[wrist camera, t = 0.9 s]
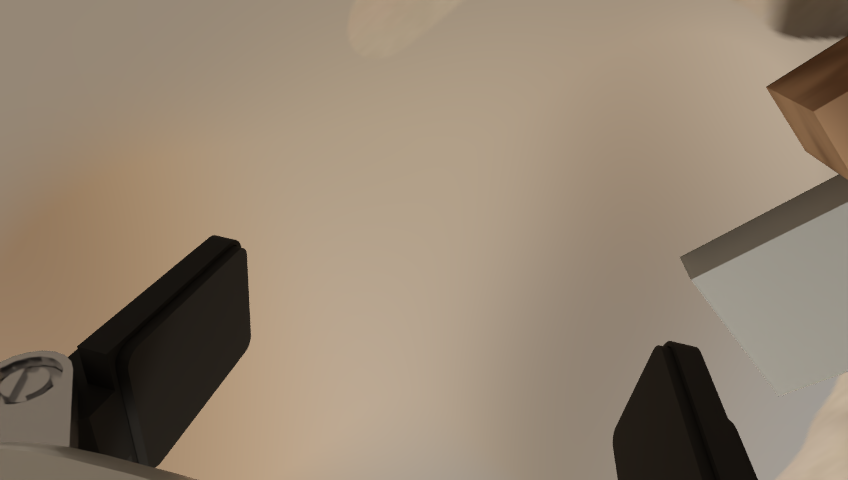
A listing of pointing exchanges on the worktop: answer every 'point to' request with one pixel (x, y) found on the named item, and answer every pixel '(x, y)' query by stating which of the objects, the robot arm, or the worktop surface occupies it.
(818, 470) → the worktop surface
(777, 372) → the base slab
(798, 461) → the worktop surface
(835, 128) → the walnut block
